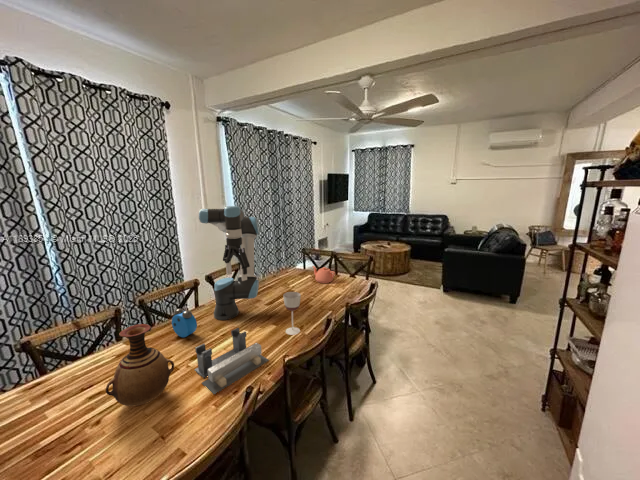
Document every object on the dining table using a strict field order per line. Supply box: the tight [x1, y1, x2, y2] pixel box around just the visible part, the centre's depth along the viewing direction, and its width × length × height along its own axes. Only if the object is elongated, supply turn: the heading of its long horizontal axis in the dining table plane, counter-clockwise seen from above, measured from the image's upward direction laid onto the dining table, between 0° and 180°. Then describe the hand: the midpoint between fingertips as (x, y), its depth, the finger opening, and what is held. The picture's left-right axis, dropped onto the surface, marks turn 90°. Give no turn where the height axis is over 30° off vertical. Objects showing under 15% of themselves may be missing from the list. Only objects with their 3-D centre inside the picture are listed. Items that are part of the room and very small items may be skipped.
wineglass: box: [282, 291, 302, 336], centre depth 154 cm, size 9×10×22 cm
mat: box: [201, 354, 270, 395], centre depth 123 cm, size 10×28×1 cm, turn 140°
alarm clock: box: [171, 308, 198, 338], centre depth 150 cm, size 13×6×15 cm, turn 65°
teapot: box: [312, 265, 336, 284], centre depth 233 cm, size 22×15×12 cm
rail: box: [207, 342, 262, 383], centre depth 121 cm, size 25×4×4 cm, turn 141°
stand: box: [194, 327, 247, 379], centre depth 128 cm, size 8×24×12 cm, turn 140°
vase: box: [105, 323, 175, 407], centre depth 104 cm, size 21×18×30 cm
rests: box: [215, 356, 261, 388], centre depth 122 cm, size 8×20×3 cm, turn 140°
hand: (236, 277), depth 142 cm, fingers open, 13 cm apart
